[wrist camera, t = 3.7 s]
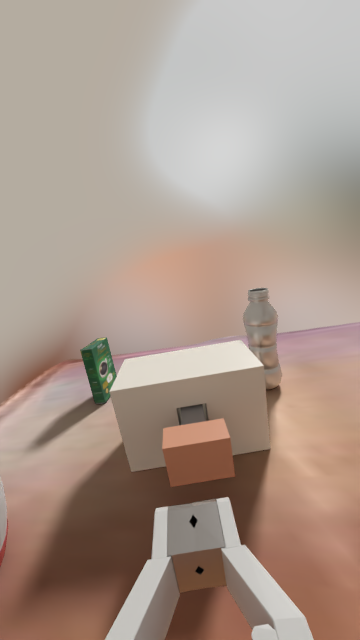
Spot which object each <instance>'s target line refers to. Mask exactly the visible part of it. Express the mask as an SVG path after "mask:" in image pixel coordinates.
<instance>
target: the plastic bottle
mask: <svg viewBox="0 0 360 640" xmlns="http://www.w3.org/2000/svg"><path fill="white" fill-rule="evenodd" d="M268 299H269V295H268V289H267V288H256V289H251V290H249V291H248V300H249V301H250V304H249V305H248V307H247V309H246V310H245V312H244V315H243V321H244V325H245V329H246V333H247V338H248V343H249V344H248V345H249V350H250V351H251V352H252V353H253V354H254V355H255V356H256V358H257V359H258V360H259V361H260V362H261V363H262V364H263V365H264V374H265V386H266V389H273V388H275V387H277V386H278V385H279V384H280V382H281V377H282V372H281V367H280V364H279V360H278V354H277V344H276V333H277V321H278V315H277V312H276V311H275V309H274V308H273V307H272V306H271V304H270V303H269V302H268Z"/></svg>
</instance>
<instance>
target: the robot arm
mask: <svg viewBox="0 0 360 640" xmlns="http://www.w3.org/2000/svg"><path fill="white" fill-rule="evenodd" d="M220 586H227V588H228V590H229V592H230V593H231V595H232V597H233V598H234V600H235V602H236V603H237V605H238V607H239V608H240V610H241V612H242V613H243V615H244V617H245V618H246V620H247V622H248V623H249V625H250V627H251V628H252V630H253V631H252V640H314V639H313V637H312V634H311V632H310V629H309V626H308V624H307V621H306V618H305V616H304V615H303V614H302V613H301V612H300V610H299V609H298V608H297V607H296V606H295V604H294V603H293V602H292V601H291V600H290V598H289V597H288V596H287V595H286V594H285V592H284V591H283V590H282V589H281V588H280V586H279V585H278V584H277V583H276V582H275V580H274V579H273V578H272V577H271V576H270V574H269V573H268V572H267V571H266V570H265V568H264V567H263V566H262V565H261V564H260V562H259V561H258V560H257V559H256V558H255V556H254V555H253V554H252V553H251V552H250V550H249V549H248V548H247V547H246V546H245V545H241V543H240V539H239V535H238V531H237V527H236V523H235V519H234V515H233V511H232V507H231V503H230V500H229V498H228V497H225V498H219V499H210V500H205V501H199V502H193V503H190V504H183V505H175V506H167V507H160V508H156V510H155V515H154V529H153V543H152V558H151V559H150V560H147V562H146V564H145V566H144V567H143V569H142V571H141V573H140V575H139V577H138V579H137V581H136V582H135V584H134V586H133V588H132V590H131V592H130V594H129V596H128V597H127V599H126V601H125V603H124V605H123V607H122V609H121V611H120V612H119V614H118V616H117V618H116V620H115V622H114V624H113V625H112V627H111V629H110V631H109V633H108V635H107V637H106V639H105V640H165V638H166V635H167V632H168V629H169V626H170V623H171V620H172V617H173V614H174V611H175V608H176V605H177V602H178V599H179V596H180V594H179V593H182V592H187V591H192V590H197V589H203V588H211V587H220Z"/></svg>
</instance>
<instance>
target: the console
mask: <svg viewBox="0 0 360 640" xmlns="http://www.w3.org/2000/svg"><path fill="white" fill-rule="evenodd" d="M109 392H110V396H111V399H112V403H113V407H114V410H115V414H116V418H117V421H118V425H119V429H120V433H121V436H122V440H123V444H124V447H125V451H126V455H127V458H128V462H129V466H130V469H131V472H135V471H141V470H147V469H153V468H159V467H165V466H166V463H165V459H164V454H163V450H162V445H163V428H168V427H174V426H180V425H181V409H180V407H186V406H192V405H198V404H202V405H203V410H204V414H205V419H206V421H210V420H216V419H222V418H224V421H225V424H226V427H227V429H228V432H229V435H230V440H231V447H232V455H237V454H243V453H249V452H255V451H261V450H267V449H270V437H269V424H268V411H267V399H266V386H265V374H264V365H263V364H262V363H261V362H260V361H259V360H258V359H257V358H256V356H255V355H254V354H253V353H252V352H251V351H250V350H249V349H248V348H247V346H246V345H245V344H244V343H243V342H242V341H241V340H238V341H232V342H226V343H220V344H214V345H208V346H202V347H196V348H190V349H184V350H178V351H172V352H166V353H160V354H154V355H148V356H142V357H136V358H131V359H125V360H124V362H123V364H122V367H121V369H120V371H119V373H118V375H117V377H116V379H115V381H114V383H113V385H112V387H111V389H110V391H109Z"/></svg>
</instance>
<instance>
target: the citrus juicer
mask: <svg viewBox="0 0 360 640" xmlns="http://www.w3.org/2000/svg"><path fill="white" fill-rule="evenodd" d="M7 531H8V520H7V506H6V499H5V493H4V488H3V483H2V480H1V477H0V566H1V563H2V560H3V557H4V554H5V548H6V540H7Z"/></svg>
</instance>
